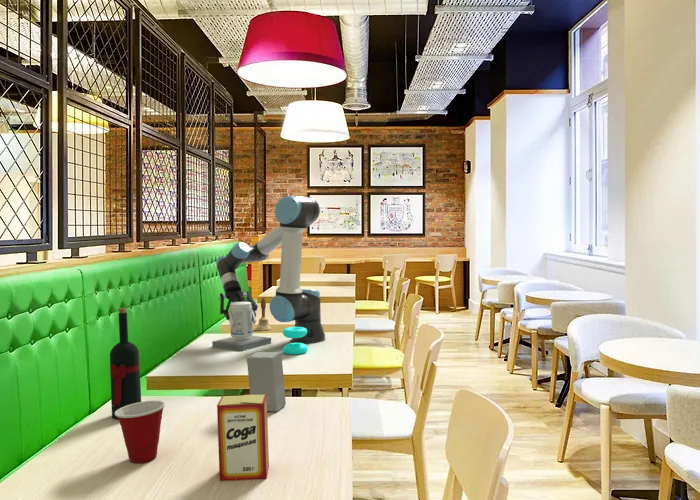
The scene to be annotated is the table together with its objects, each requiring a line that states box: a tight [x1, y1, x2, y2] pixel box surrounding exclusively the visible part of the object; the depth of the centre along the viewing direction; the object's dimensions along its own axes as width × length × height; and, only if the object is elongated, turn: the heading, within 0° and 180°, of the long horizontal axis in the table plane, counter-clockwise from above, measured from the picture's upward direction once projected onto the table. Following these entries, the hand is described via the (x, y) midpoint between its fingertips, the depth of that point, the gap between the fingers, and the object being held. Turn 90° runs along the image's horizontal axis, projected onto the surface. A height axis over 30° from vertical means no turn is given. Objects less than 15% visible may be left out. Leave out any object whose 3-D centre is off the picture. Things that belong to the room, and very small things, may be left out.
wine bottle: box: [109, 307, 142, 421], centre depth 165 cm, size 8×10×30 cm
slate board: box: [211, 335, 272, 352], centre depth 263 cm, size 18×18×3 cm
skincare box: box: [246, 351, 287, 413], centre depth 170 cm, size 8×7×16 cm
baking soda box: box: [216, 394, 270, 482], centre depth 125 cm, size 10×6×16 cm
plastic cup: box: [115, 400, 166, 464], centre depth 135 cm, size 11×11×12 cm
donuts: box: [282, 326, 309, 356], centre depth 245 cm, size 10×10×10 cm
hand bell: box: [255, 297, 273, 332], centre depth 303 cm, size 8×8×16 cm
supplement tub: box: [229, 302, 254, 338], centre depth 263 cm, size 10×10×15 cm
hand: (243, 323), depth 260 cm, fingers closed on supplement tub, 10 cm apart
